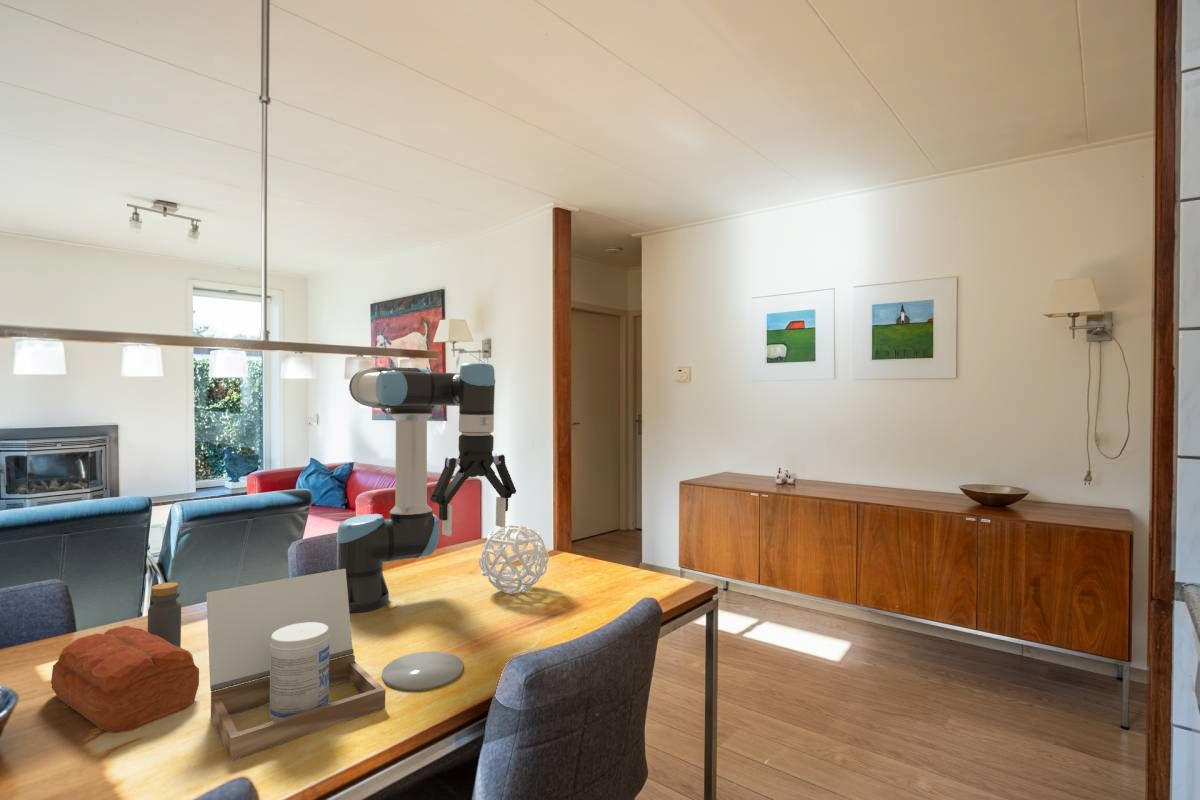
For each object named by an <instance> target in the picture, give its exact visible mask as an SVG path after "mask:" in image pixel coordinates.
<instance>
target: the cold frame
mask: <svg viewBox="0 0 1200 800" xmlns="http://www.w3.org/2000/svg"><path fill="white" fill-rule="evenodd" d="M347 681H348V682H349V683H350V684H351V685H352V686H354V688H356V689H357V691H358V692H359V694H356V695H352V696H350V697H347V698H343V699H340V700H337V701H334V702H331V703H330V702H329V704H327V705H323V706H320V707H317V708H314V709H311V710H307V711H304V712H301V713H298V714H295V715H291V716H288V717H285V718H282V719H279V720H276V721H272V720H271V721H270V722H269V721H268V722H266V723H263V724H259V725H257V726H254V727H250V728H247V729H244V730H241V731H238V729H237V728H236V725H235V724H234V722H233V719H232V718H231V715H236V714H238V713H243V712H246V711H249V710H251V709H256V708H259V707H263V706H266V705H270V676H268V677H264V678H261V679H257V680H253V681H249V682H246V683H242V684H238V685H234V686H231V687H227V688H223V689H219V690H216V691H212V692H211V691H210V720H211V722H212V723H213V726H214V729H216V732H217V734H218V737H219V740H220V742H221V743H222V745H223V748H224V750H225V752H226V754H227V756H228V758H230V759H229V760H230V761H231V760H232V761H235V760H236V758H237V759H240V758H244V757H246V756H249V755H252V754H254V753H258V752H261V751H263V750H267V749H270V748H272V747H276V746H278V745H281V744H284V743H287V742H291V741H293V740H296V739H299V738H302V737H305V736H309V735H312V734H314V733H317V732H319V731H323V730H326V729H328V728H332V727H335V726H338V725H340V724H344V723H346V722H349V721H352V720H355V719H359V718H361V717H364V716H368V715H370V714H373V713H376V712H379V711H382V710H385V709H386V688H385V687H384V686H382V685H381V684H380V683H379V682H378V681H377V680H376V679H375V678H374V677H373V676H372V675H370V673H368V672H367V671H366V670H365V669H364V668H363V667H362V666H361V665H360V664H359V663H358V662H357V661H356V655H354V653H353V654H350V655H347V656H343V657H339V658H336V659H332V660H329V687H330V686H334V685H337V684H338V685H339V684H341V683H344V682H347ZM239 757H240V758H239Z"/></svg>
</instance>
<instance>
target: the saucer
mask: <svg viewBox="0 0 1200 800" xmlns="http://www.w3.org/2000/svg"><path fill="white" fill-rule="evenodd" d="M463 669H464V662H463V661H462V660H461V658H459V656H456V655H455V654H452V653H450V652H449V653H448V652H444V651H442V652H441V651H420V652H414V653H410V654H407V655H403V656H400V657H398V658H395V659H394V660H392V661H390V662H388V663H387V664H386V665H385V666H384V668H383V669H382V673H381V679H382V682H383V683H384V684H385V685H386V686H388V687H390V688H392V689H395V690H399V691H408V692H410V691H413V692H415V691H419V692H420V691H427V690H432V689H438V688H441V687H443V686H445V685H448V684H450V683H452V682H453V681H456V680H457V679H458V678H459V677H460V676H461V675H462V673H463Z"/></svg>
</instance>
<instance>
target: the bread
mask: <svg viewBox="0 0 1200 800" xmlns="http://www.w3.org/2000/svg"><path fill="white" fill-rule="evenodd" d="M51 672H52V673H51V680H50V683H51V690H53V692H54V693H55V695H56V696H57V698H58V700H60V701H62V702H63V703H64V704H66V705H67V706H68V707H69V708H71V709H72V710H74V711H76V712H77V713H79V714H80V715H81V716H83V717H84V718H85V719H86V720H88V721H89V722H91V723H92V724H93V725H94V726H96V727H97V728H99V729H100V730H102V731H104V732H108V733H113V734H117V733H123V732H128V731H133V730H135V729H138V728H141V727H143V726H147V725H149V724H151V723H153V722H156V721H159V720H161V719H163V718H164V719H165V718H166V717H169V716H172V715H174V714H177V713H179V712H182V711H185V710H186V709H188V708H189V707H190V706H192V704H194V703H195V701H196V695H197V693H198V690H199V689H198V688H199V686H200V668H199V667H198V666H196V664H195V661H194V656H193V654H192V653H191V652H190V651H189V650H187V649H185V648H182V647H181V648H180V647H177V646H175V645H172V644H171V643H169V642H168V641H166V640H165V639H163V638H161V637H159V636H157V635H151V634H150V633H149V632H148V631H146V630H144V629H142V628H139V627H133V626H129V625H122V626H119V627H114V628H110V629H108V630H106V631H105V632H104V633H94V634H89V635H87V636H83V637H79V638H76V639H75V640H73V641H72V642H71V643H70V644H68V645H67V646H65V647H63V648H62V650H61V652H60V654H59V657H58V660H57V661H56V662H55V663H54V664H53V665H52V671H51Z"/></svg>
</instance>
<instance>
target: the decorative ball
mask: <svg viewBox="0 0 1200 800" xmlns="http://www.w3.org/2000/svg"><path fill="white" fill-rule="evenodd" d="M512 533H513V534H514V536H513V538H511V534H512ZM519 535H522V536H519ZM499 538H502V539H499ZM529 543H530V544H531V545H532V546H533V549H527V547H528V545H529ZM495 545H496V546H497V549H494V547H495ZM508 545H510V548H511V551H512V552H513V553H514V554H511V556H509V553H508V552H507V550H506V548H508V547H507V546H508ZM519 546H522V548H521V549H520V547H519ZM539 548H540V550H539ZM491 554H492V555H493V556H494V557H493V559H492V560H491V558H490V555H491ZM524 556H525V557H524ZM549 556H550V555H549V552H548V549H546V546H545V542H544V540H543V538H542V537H541V533H540V532H538V531H536V530H535V529H534V528H531V527H527V526H525V525H522V524H514V525H512V524H511V525H505V527H499V528H498V529H497V530H495V531H493V532H490V533H488V535H487V536H486V541H485V543H484V545H483V547H482V551H481V556H480V558H479V560H478V563H479V567H480V570H481V571H480V573H481V575H482V576H483V577H486V576H487V577H488V578H487V579H488V582H489V583H490V584H491V585H492V586H493V587H494V588H495V589H497V590H499V591H500V592H502V593H505V594H507V595H516V594H519V593H523V594H524V593H526V592H528V591H529V589H530V587H533V586H534V585H535V584H536V583H537V582H538V581H539V580H540V578H541V576H544V575H545V574H546V572H547V571H548V565H547V564H548V562H549V559H550V557H549ZM501 557H502V558H503V560H499V559H500V558H501ZM528 558H529V559H528ZM516 560H518V561H519V562H520V564H521V566H522V567H521V569H518V567H517V566H516V565H515V564H513V562H515V561H516ZM498 565H499V566H500V565H501V567H500V569H497V568H496V566H498ZM489 566H490V567H489ZM533 566H534V571H535V572H534V571H533V570H532V568H533ZM507 567H509V569H506V568H507ZM515 576H516V577H515ZM527 576H530V577H528V578H527ZM525 578H527V579H525ZM524 579H525V580H524Z"/></svg>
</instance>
